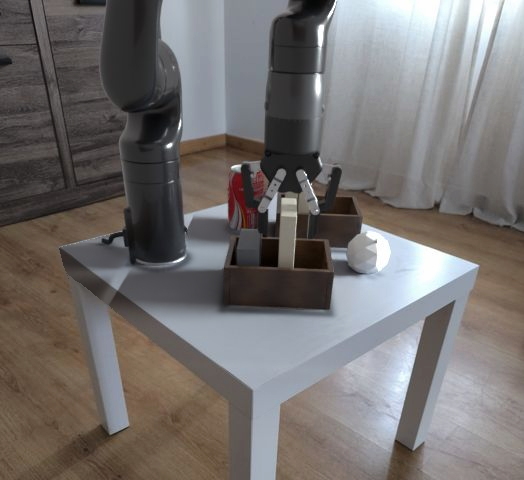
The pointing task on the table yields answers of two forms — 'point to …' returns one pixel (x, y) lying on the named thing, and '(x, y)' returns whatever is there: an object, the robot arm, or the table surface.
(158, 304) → the table surface
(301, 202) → the white book
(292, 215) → the white book
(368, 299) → the table surface
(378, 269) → the ornament
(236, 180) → the soda can
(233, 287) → the crate brown
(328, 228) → the dark wooden storage bin
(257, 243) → the grey book
